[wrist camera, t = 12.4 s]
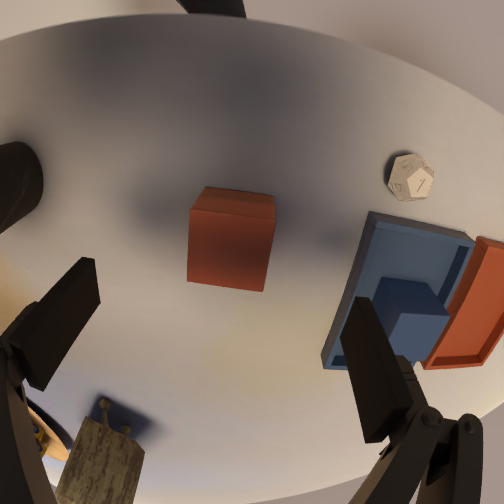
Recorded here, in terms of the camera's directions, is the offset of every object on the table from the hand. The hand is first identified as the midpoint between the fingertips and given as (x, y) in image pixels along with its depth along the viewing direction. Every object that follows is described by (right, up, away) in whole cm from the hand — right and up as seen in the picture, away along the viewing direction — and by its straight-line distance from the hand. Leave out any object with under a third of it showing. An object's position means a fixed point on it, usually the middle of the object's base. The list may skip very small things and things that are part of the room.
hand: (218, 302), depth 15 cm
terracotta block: (0, +5, +8) cm, 10 cm away
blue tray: (+14, -2, +11) cm, 18 cm away
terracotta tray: (+26, -4, +12) cm, 29 cm away
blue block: (+15, -2, +11) cm, 18 cm away
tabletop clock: (-19, -23, +24) cm, 38 cm away
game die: (+13, +8, +6) cm, 17 cm away
